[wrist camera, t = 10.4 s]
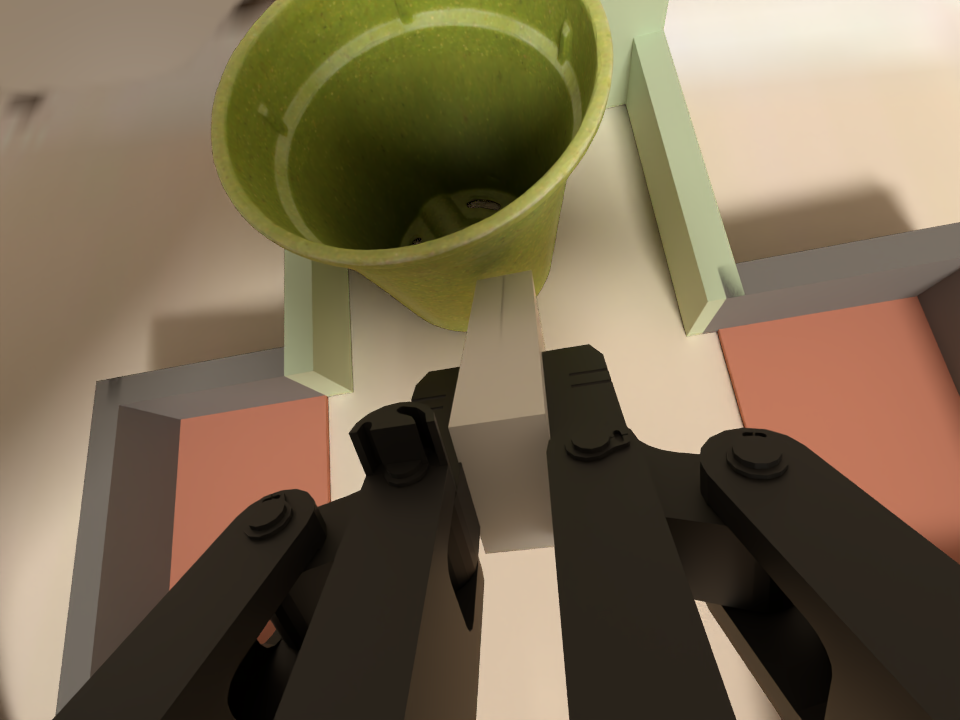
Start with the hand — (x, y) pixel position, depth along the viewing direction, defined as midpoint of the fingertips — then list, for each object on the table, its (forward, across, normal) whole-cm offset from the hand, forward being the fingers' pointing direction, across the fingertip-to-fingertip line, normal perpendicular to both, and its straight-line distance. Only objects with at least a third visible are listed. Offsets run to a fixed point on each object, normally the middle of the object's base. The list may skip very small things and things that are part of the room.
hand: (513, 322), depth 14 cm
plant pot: (+7, -2, 0) cm, 7 cm away
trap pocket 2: (0, -11, -7) cm, 12 cm away
